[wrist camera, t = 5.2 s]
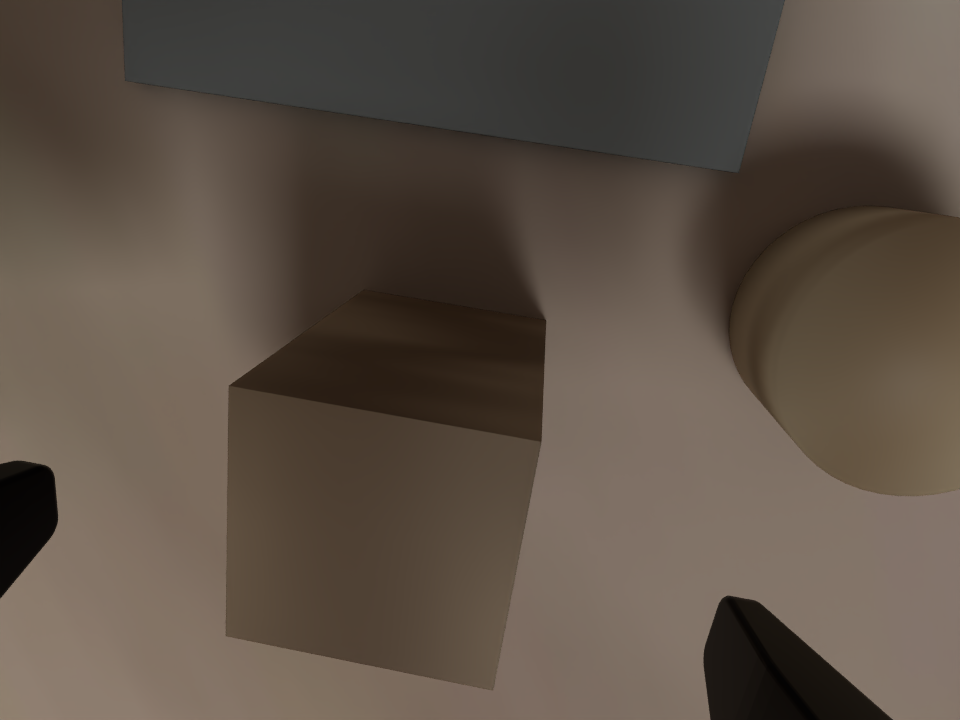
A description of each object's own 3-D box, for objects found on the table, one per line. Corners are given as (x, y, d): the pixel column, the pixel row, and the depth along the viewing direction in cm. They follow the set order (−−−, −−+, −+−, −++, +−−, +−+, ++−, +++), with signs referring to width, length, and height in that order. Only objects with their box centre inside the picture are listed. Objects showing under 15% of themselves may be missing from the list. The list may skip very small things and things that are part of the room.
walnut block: (546, 320, 13) (541, 442, 8) (516, 483, 15) (493, 690, 9) (364, 289, 14) (228, 386, 8) (350, 452, 15) (225, 635, 9)
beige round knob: (1008, 224, 12) (1152, 246, 9) (919, 441, 13) (1019, 518, 10) (764, 188, 12) (829, 197, 9) (703, 404, 14) (743, 470, 11)
